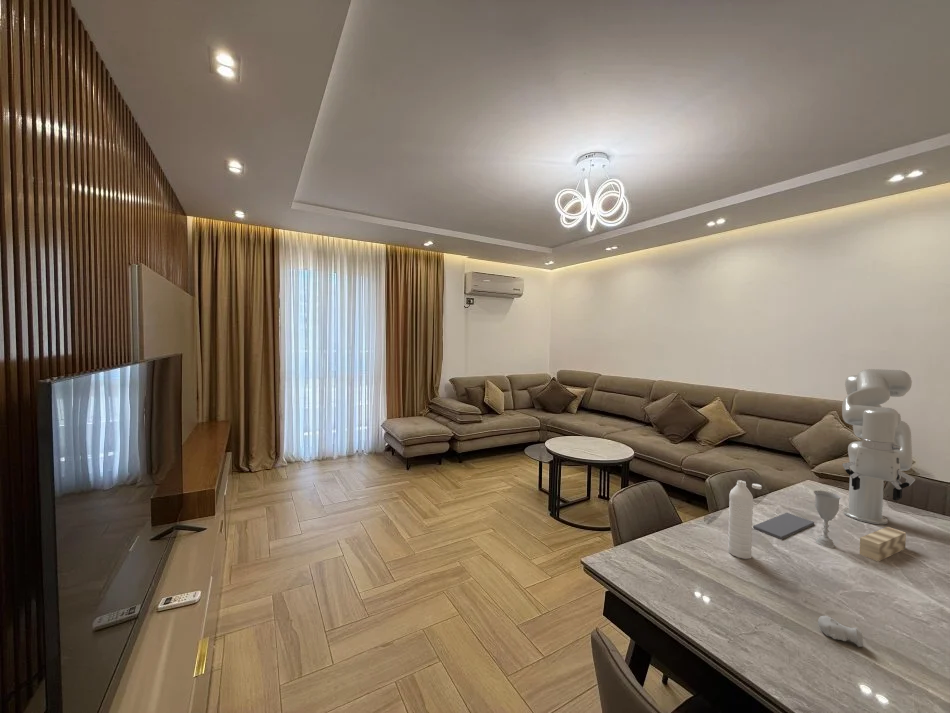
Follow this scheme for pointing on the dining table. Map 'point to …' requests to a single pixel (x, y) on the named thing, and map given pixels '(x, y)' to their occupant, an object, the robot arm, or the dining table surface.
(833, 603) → the dining table surface
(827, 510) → the chalice
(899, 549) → the grooved wooden block
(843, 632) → the smooth white sculpture
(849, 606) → the dining table surface
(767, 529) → the tool pad
